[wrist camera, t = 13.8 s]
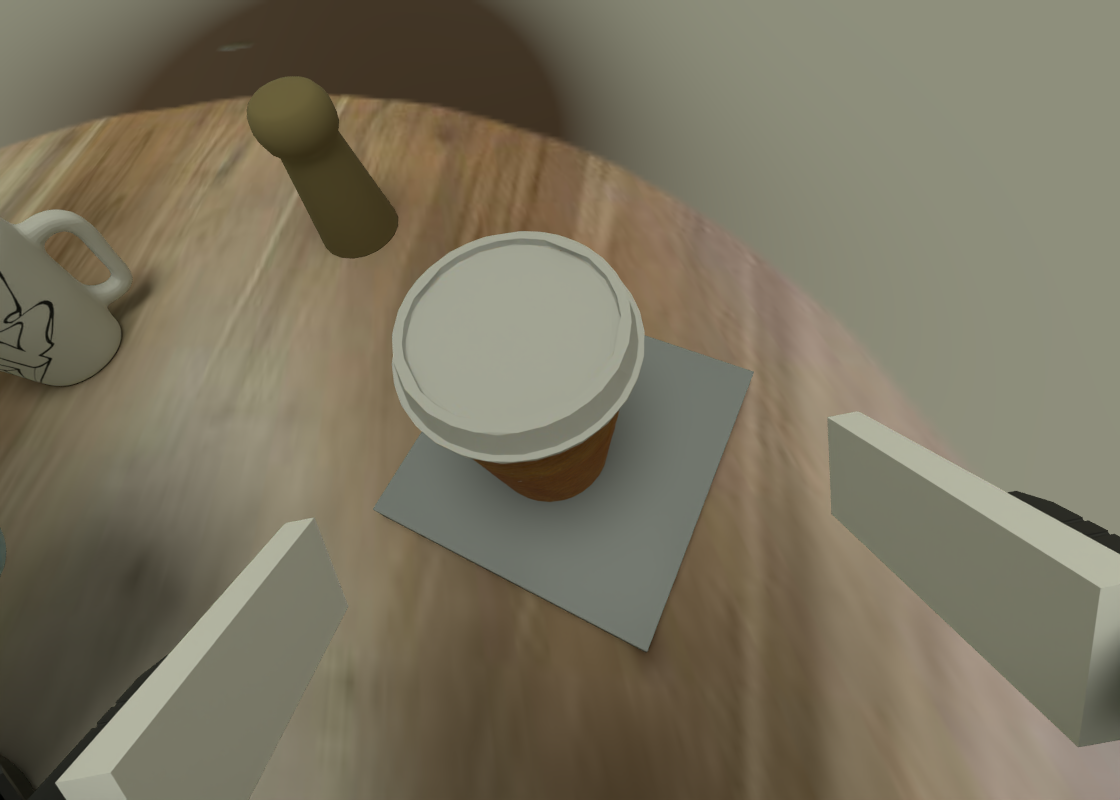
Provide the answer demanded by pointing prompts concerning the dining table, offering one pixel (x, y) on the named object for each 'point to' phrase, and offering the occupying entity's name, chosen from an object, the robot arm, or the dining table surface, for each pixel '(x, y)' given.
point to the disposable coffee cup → (520, 359)
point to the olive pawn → (322, 166)
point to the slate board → (591, 500)
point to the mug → (55, 303)
